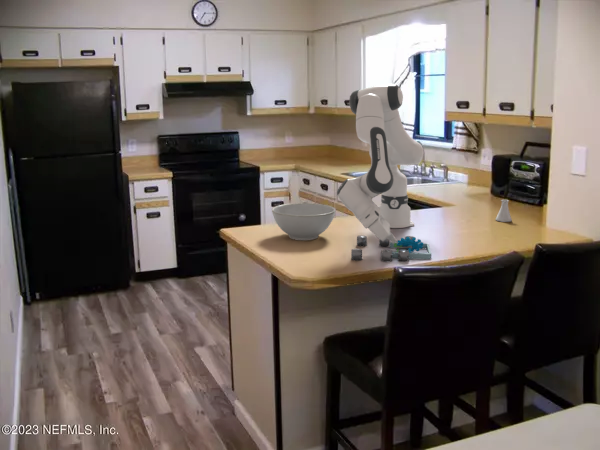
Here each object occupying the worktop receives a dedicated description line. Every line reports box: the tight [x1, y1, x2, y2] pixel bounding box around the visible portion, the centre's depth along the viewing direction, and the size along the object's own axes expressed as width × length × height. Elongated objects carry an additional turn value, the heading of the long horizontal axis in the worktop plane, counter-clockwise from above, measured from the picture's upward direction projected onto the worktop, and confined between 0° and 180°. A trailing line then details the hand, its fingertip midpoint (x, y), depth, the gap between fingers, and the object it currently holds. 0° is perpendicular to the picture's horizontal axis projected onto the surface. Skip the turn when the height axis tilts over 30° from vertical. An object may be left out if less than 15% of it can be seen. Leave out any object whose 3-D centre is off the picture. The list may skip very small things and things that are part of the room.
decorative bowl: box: [271, 202, 337, 241], centre depth 260 cm, size 27×27×12 cm
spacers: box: [350, 234, 414, 263], centre depth 237 cm, size 26×24×4 cm
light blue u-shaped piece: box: [389, 241, 432, 260], centre depth 236 cm, size 16×15×2 cm
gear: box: [394, 236, 424, 253], centre depth 233 cm, size 11×6×10 cm
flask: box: [494, 199, 513, 223], centre depth 292 cm, size 7×7×10 cm
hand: (395, 241), depth 235 cm, fingers closed
